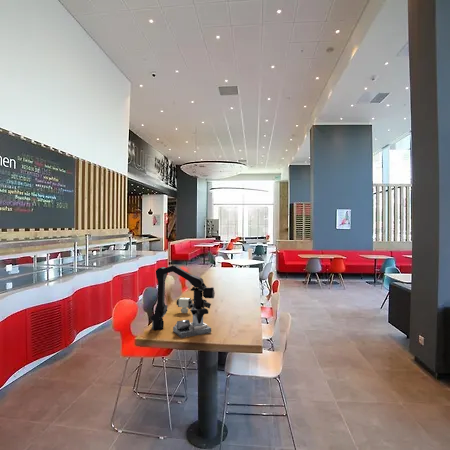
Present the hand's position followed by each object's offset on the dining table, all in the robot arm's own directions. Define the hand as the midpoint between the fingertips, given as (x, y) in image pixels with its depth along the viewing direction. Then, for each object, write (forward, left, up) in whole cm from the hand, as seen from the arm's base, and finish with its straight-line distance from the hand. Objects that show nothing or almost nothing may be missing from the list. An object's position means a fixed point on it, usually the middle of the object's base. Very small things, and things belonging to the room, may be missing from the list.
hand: (197, 322), depth 198 cm
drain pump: (0, 0, -2) cm, 2 cm away
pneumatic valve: (+9, +45, -6) cm, 46 cm away
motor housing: (-4, 0, -6) cm, 7 cm away
